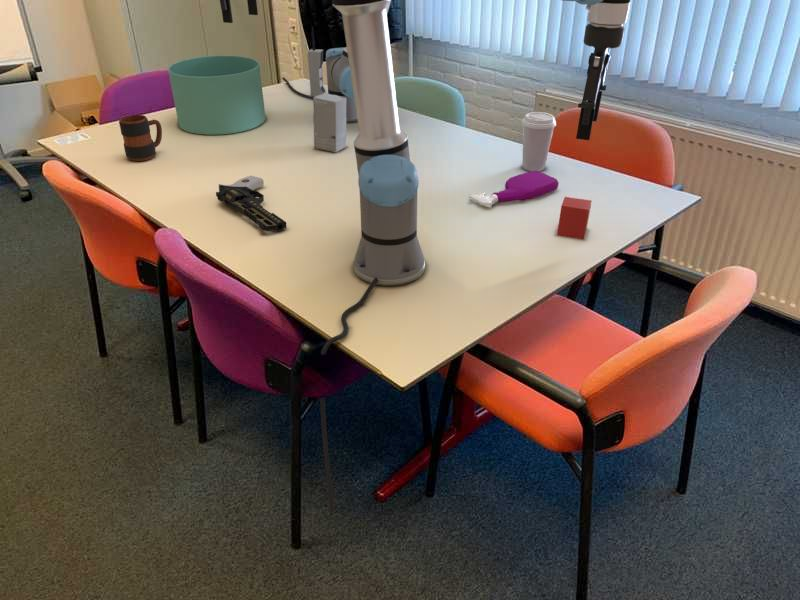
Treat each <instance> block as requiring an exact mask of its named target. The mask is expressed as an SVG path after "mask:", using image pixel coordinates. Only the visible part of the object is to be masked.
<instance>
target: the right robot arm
mask: <svg viewBox="0 0 800 600" xmlns="http://www.w3.org/2000/svg"><path fill="white" fill-rule="evenodd" d="M390 1H391V2H392V0H331V4H332V7H334V8H335V9H336V10H337V11H339V12H340V14H341V17H342V18H341V19H342V24H343V31H344V37H345V38H344V39H345V44H346V47H347V52H348V59H349V65H350V72H351V79H352V86H353V93H354V99H355V106H356V113H357V120H358V121H357V125H358V126H357V127H358V135H357V136H356V137H355V139H354V140H353V147H354V153H355V159H356V168H357V169H356V170H357V174H358V178H357V179H358V188H359V189H358V190H359V206H360V207H359V208H360V211H359V212H360V239H359V242H358V247H357V249H356V252H355V256H354V259H353V270H354V273H355V275H356V276H357V277H358V278H359V279H360V280H362V281H364V282H366V283H369V285H368V287H367V289H366V290H365V292H364V294H363V295H362V296H361V298H360V299H359V300H358V301H357V302H356V303H354V304H353V305H351V306H350V307H348V308H347V309H346V310H344V311H343V312H342V314H341V318H340V321H341V324H342V328H343V330H342V332H340V333H339V334H336V335H335V336H332V337H331V338H329V339H328V340H327V341H326V342H325V343H324V345H323V346H322V349H321V351H320V355H321V356H324V355H326V354H327V353H328V352H327V351H328V350H329V348H330V346H331V345H332V344H334V343H336V342H338V341H340V340H342V339H343V338H345V337H346V336H347V335H348V333H349V324H348V321H347V317H348V315H350V314H351V313H352V312H354V311H355V310H357V309H358V308H360V307H361V306H362V305H363V304H364V303H365V302H366V300H367V299H368V297H369V295H370V294H371V292H372V290H373V289H374V287H375V286H382V287H395V286H402V285H406V284H410V283H413V282H415V281H417V280H418V279H420V278H421V276H423V274H424V273H425V270H426V261H425V255H424V252H423V250H422V247H421V244H420V241H419V238H418V189H419V184H420V183H419V182H420V181H419V176H418V169H417V167H416V165H415V164H414V163H413V162H412V161H411V159H410V156H411V155H410V146H409V139H408V138H409V137H408V134H407V133H406V132H405V131H404V130H403V129H402V128H400V120H399V111H398V103H397V94H396V93H397V92H396V85H395V75H394V67H393V66H394V65H393V58H392V57H393V56H392V49H391V48H392V47H391V40H390V39H391V38H390V31H389V23H388V21H389V20H388V13H387V11H386V8H387V6H388V4H389V3H390ZM563 1H564V2H566V1H567V2H576V3H578V4H580V5H584V6H585V10H587V11H588V13H587V22H588V23H587V24H586V25H585V30H584V36H583V44H584V45H585V46H588V47H593V48H594V49H593V50H594V51H593V52H591V53H590V55H589V56H588V64H587V65H588V66H587V70H586V81H585V86H584V91H583V94H582V100H581V102H578V104H577V108H578V109H579V108H580V112H579V113H580V114H579V118H578V125H577V129H576V130H577V131H576V136H575V139H577V140H584V141H590V140H591V133H592V128H593V122H597V121H598V117H599V111H600V106H601V102H602V101H601V100H602V96H603V92H604V91H607V85H605V83H606V82H605V81H606V79H605V78H606V73H607V71H608V69H609V68H608V67H609V64H610V61H611V54H610V49H617V48H620V47H622V44H623V40H624V35H625V29H626V28H625V26H623V25H626V24H627V20H628V15H629V10H630V6H631V0H562V2H563ZM390 4H391V3H390ZM319 399H320V400H319V401H320V423H321V436H322V447H323V448H322V449H323V456H324V465H325V475H326V484H327V485H326V486H327V495H328V507H329V512H330V513H334V511H335V508H334V507H335V506H334V494H333V483H332V474H331V464H330V454H329V453H330V452H329V444H328V443H329V442H328V431H327V417H326V415H327V413H326V398H323V397H320V398H319Z"/></svg>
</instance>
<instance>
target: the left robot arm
mask: <svg viewBox="0 0 800 600" xmlns="http://www.w3.org/2000/svg"><path fill="white" fill-rule="evenodd" d="M246 2H247V9H248V10H247V11H248V15H249V16H258V15H259V13H258V2H257V0H246ZM391 2H392V0H391V1H390V3H389V4H388V6H387V8H386V11H387V14H388V13H389V10H390V6H391ZM219 5H220V10H221V16H222V22H223V23H226V24H233V23H234V21H233V20H234V19H233V14H232V13H233V12H232V6H231V0H219ZM325 64H326V66H325V67H326V81H327V83H326V84H327V94H331V95H337V96H341V97H346V123H356V122H358V120H357V113H356V106H355V99H354V93H353V86H352V79H351V72H350V65H349V59H348V52H347V46H345V47H334V48H329V49H327V50H326V52H325ZM282 80H283V81H284V82H285V84H287V86H288V88H289V89H290V90H291V91H292V92H294V93H295V94H297V95H298V96H301V97H303V98H307V99H310V100H313V97H314V96H311V95H308V94H305V93H302V92H300V91H299V90H296V89H295V88H294V87H293V85H291V83H290V82H289V80H287V79H286V78H285V77H284V76H282Z"/></svg>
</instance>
